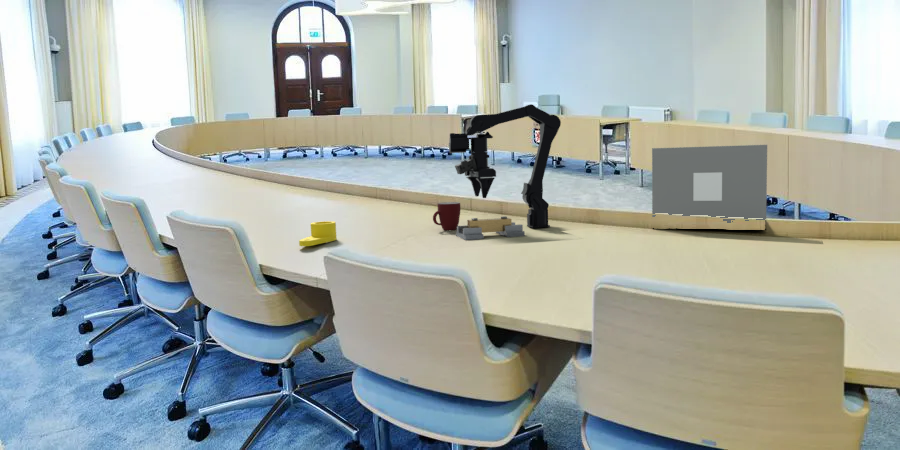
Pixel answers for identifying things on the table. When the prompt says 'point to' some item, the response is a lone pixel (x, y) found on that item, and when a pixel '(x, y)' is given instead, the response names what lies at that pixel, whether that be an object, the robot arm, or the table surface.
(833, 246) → the table surface
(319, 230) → the crank
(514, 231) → the pair of grey blocks
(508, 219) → the link
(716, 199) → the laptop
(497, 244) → the table surface
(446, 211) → the mug
